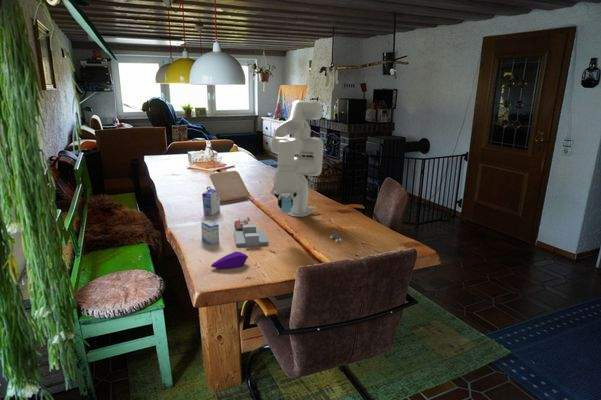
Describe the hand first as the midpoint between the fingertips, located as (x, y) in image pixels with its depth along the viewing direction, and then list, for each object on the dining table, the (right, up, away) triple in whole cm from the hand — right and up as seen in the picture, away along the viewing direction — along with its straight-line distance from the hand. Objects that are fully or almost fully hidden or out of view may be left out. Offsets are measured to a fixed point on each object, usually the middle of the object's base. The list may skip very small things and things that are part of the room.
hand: (285, 206), depth 183 cm
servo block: (0, -2, +1) cm, 2 cm away
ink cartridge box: (-42, -4, +36) cm, 55 cm away
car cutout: (+25, -17, 0) cm, 30 cm away
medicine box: (-34, -16, -2) cm, 37 cm away
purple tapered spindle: (-21, -23, -26) cm, 41 cm away
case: (-38, +4, +65) cm, 75 cm away
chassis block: (-16, -15, +1) cm, 22 cm away
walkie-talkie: (-22, -11, +17) cm, 29 cm away
